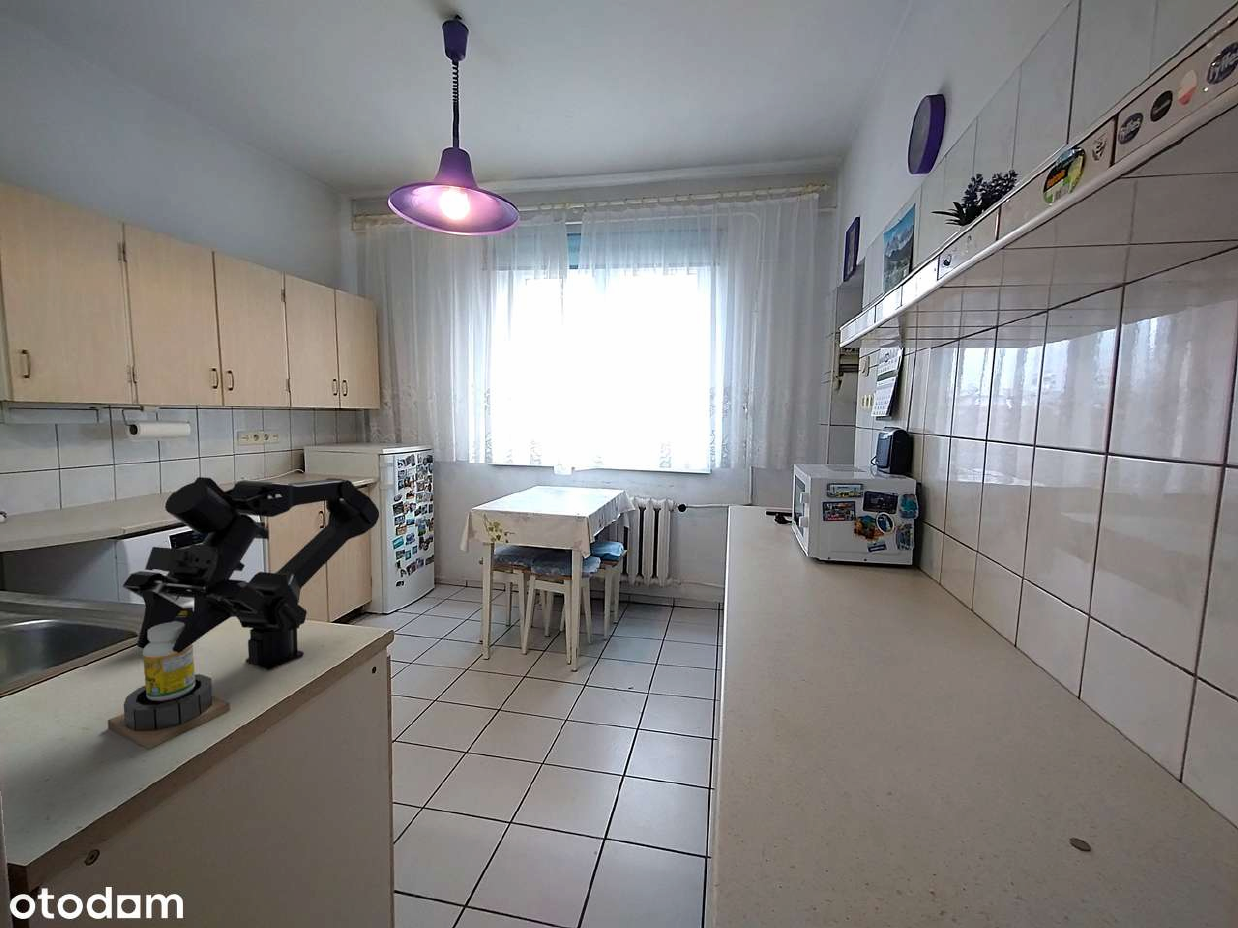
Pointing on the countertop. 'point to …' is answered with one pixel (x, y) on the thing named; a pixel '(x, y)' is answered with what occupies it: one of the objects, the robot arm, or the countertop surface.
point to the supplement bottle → (167, 663)
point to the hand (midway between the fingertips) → (158, 649)
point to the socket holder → (167, 714)
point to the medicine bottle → (183, 606)
